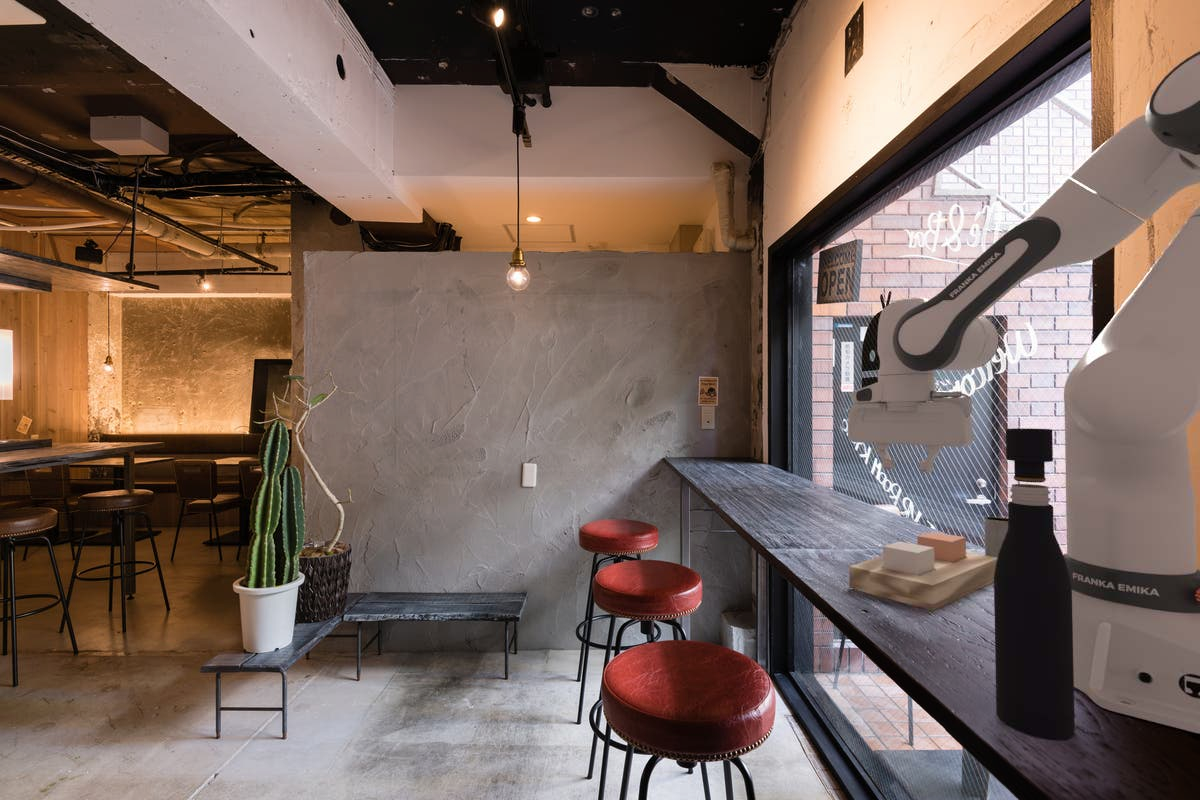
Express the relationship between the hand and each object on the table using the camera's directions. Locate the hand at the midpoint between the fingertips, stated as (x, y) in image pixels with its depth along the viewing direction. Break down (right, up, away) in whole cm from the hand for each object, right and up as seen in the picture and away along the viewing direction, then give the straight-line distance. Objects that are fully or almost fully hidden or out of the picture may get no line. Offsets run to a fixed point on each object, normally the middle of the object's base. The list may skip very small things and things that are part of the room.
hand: (907, 470), depth 101 cm
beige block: (0, -17, 0) cm, 17 cm away
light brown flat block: (+5, -21, +4) cm, 22 cm away
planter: (+24, -21, +11) cm, 34 cm away
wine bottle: (-10, -21, -42) cm, 48 cm away
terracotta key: (+11, -18, +7) cm, 22 cm away
